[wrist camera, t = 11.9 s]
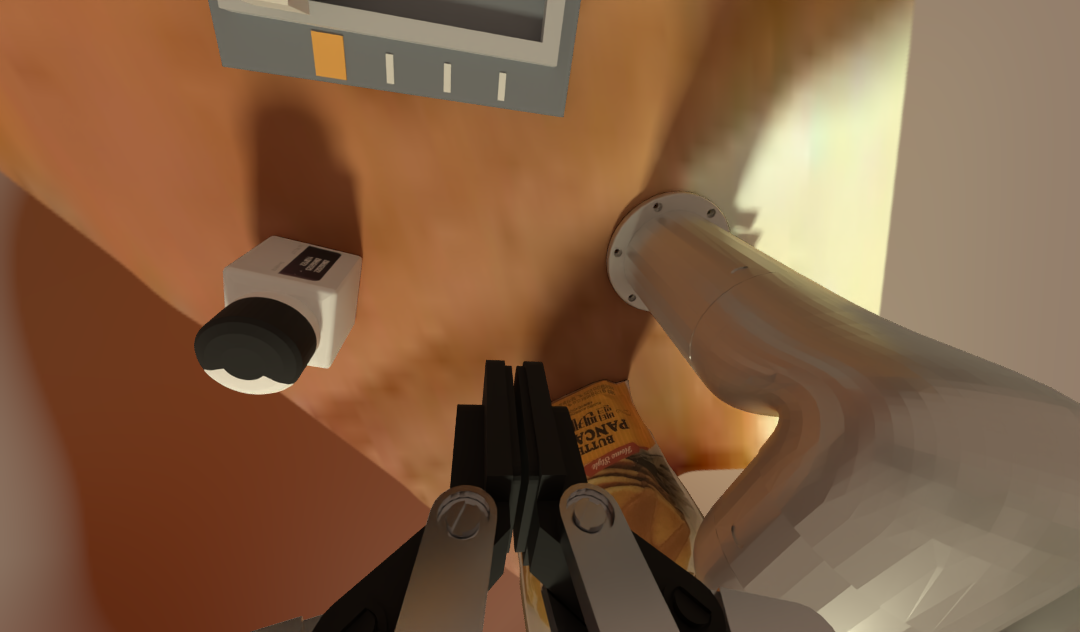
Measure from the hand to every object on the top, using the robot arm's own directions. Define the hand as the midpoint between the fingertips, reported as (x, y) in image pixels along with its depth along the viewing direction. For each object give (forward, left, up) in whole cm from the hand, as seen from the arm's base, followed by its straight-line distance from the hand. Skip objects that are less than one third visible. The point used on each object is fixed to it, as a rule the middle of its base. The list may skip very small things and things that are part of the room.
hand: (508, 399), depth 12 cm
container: (+16, +10, -27) cm, 33 cm away
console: (+7, -13, -27) cm, 31 cm away
